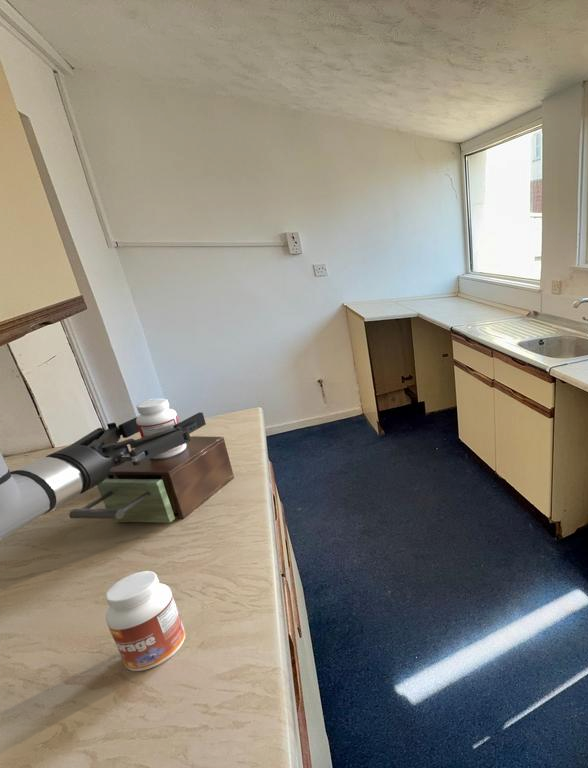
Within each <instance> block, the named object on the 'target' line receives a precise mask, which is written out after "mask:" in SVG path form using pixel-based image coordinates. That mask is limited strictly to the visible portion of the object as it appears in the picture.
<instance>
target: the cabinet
mask: <svg viewBox="0 0 588 768" xmlns="http://www.w3.org/2000/svg"><path fill="white" fill-rule="evenodd" d="M190 438H191V441H190V442H187V443H186V449H185V450H184V451H182V452H181V453H179V454H177V455H175V456H172V457H168V458H163V459H152V458H150V459H148V460H146V461H145V462H143V463H142V464H140V465H136V466H134V465H133V464H132V461H126V462H124V463H123V464H121V465H119V466H116V467H112V468H111V469H110V471H109V473H108V476H107V478H106V479H114V477H113V475H159V476H166V478H167V481H168V484H169V487H170V490H171V493H172V496H173V499H174V502H175V505H176V508H177V511H178V512H177V513H174V516H175V519H174V520H184V519H186V518H187V517H188V516H190V515H191V514H192V513H193V512H194V511H196V510H197V509H198V508H199V507H200V506H202V505H203V504H204V503H205V502H207V501H208V500H209V499H210V498H212V497H213V496H214V495H215V494H217V493H218V492H219V491H220V490H221V489H222V488H224V487H225V486H226V485H228V483H230V482H231V481H232V480H234V478H235V475H234V472H233V468H232V464H231V460H230V457H229V453H228V448H227V445H226V441H225V438H224V436H202V435H201V436H198V435H197V436H196V435H195V436H193V435H192V436H190Z"/></svg>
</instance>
